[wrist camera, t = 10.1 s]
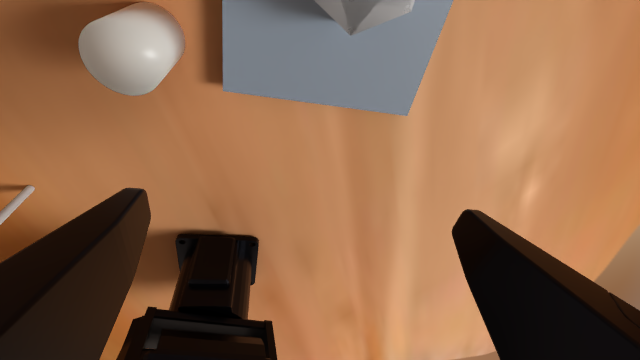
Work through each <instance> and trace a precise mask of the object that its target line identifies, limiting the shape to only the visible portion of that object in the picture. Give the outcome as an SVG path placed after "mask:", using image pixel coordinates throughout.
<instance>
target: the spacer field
mask: <svg viewBox="0 0 640 360" xmlns="http://www.w3.org/2000/svg"><path fill="white" fill-rule="evenodd" d="M78 45H79V52H80V56H81V59H82V61H83V63H84V65H85V66H86V68H87V69H88V71H89V72H90V73H91V74H92V76H93V77H94V78H95V79H97V80H98V81H99V82H100V83H101V84H103V85H104V86H106V87H107V88H109V89H111V90H113V91H115V92H118V93H121V94H125V95H132V96H137V95H144V94H147V93H149V92H151V91H152V90H154V89H155V88H156V87H157V86H158V84H159V83H160V82H161V81H162V80H163V78H164V77H165V76H166V75H167V74H168V73H169V71H170V70H171V69H172V68H173V67H174V65H175V64H176V63H177V62H178V61H179V59H180V58H181V57H182V55H183V53H184V50H185V36H184V33H183V30H182V28H181V26H180V24H179V23H178V21H177V20H176V19H175V17H174V16H173V15H172V14H171V13H169V12H168V11H167V10H166V9H164V8H162V7H160V6H159V5H156V4H153V3H149V2H139V3H135V4H132V5H130V6H127V7H125V8H123V9H120V10H118V11H116V12H113V13H111V14H109V15H106V16H104V17H102V18H99V19H97V20H95V21H92V22H91V23H89V24H88V25H86V26H85V27H84V29H83V30H82V32H81V34H80V37H79V43H78Z"/></svg>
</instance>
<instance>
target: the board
mask: <svg viewBox="0 0 640 360" xmlns="http://www.w3.org/2000/svg"><path fill="white" fill-rule="evenodd" d="M452 2H453V0H415V2H414V5H413V8H412V11H411V12H409V13H407V14H404V15H402V16H399V17H397V18H394V19H392V20H389V21H387V22H384V23H382V24H379V25H377V26H374V27H372V28H369V29H367V30H364V31H362V32H359V33H357V34H354V35H352V36H350V35H349V34H348V33H347V32H346V31H345V30H344V29H343V28H342V27H341V26H340V25H339V24H338V23H337V22H336V21H335V20H334V19H333V18H332V17H331V16H330V15H329V14H328V13H327V12H326V11H325V10H324V9H323V8H321V7H320V6H319V5H318V4H317V3H316V2H315V1H314V0H222V20H223V91H227V92H234V93H242V94H249V95H257V96H264V97H271V98H279V99H286V100H293V101H301V102H308V103H316V104H323V105H330V106H338V107H345V108H353V109H360V110H367V111H375V112H382V113H390V114H397V115H404V116H407V115H408V113H409V110H410V108H411V105H412V103H413V100H414V98H415V95H416V93H417V90H418V88H419V85H420V82H421V80H422V77H423V75H424V72H425V70H426V67H427V65H428V62H429V60H430V57H431V55H432V52H433V50H434V47H435V45H436V42H437V40H438V37H439V35H440V32H441V30H442V27H443V25H444V22H445V20H446V17H447V15H448V12H449V10H450V7H451V5H452Z"/></svg>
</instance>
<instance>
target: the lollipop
mask: <svg viewBox="0 0 640 360" xmlns="http://www.w3.org/2000/svg"><path fill="white" fill-rule="evenodd" d="M34 190H35V188H34V187H33V186H30V185H28V186H26V187H25V188H24V189H23V190H22V191H21V192H20V193H19V194H18V195H17V196H16V197H15V198H14V199H13V200H12V201H11V202H10V203H9V204H8V205H7V206H6V207H5V208H4V209H3V210H2V211H1V212H0V225H1V224H2V223H3V222H4V221H5V219H6V218H7V217H8V216H9V215H10V214H11V213H12V212H13V211H14V210H15V209H16V208H17V207H18V206H19V205H20V204H21V203H22V202H23V201H24V200H25V199H26V198H27V197H28V196H29V195H30V194H31V193H32V192H33V191H34Z"/></svg>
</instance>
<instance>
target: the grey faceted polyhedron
mask: <svg viewBox="0 0 640 360" xmlns="http://www.w3.org/2000/svg"><path fill="white" fill-rule="evenodd" d="M314 1H315V2H316V3H317V4H318V5H319V6H320V7H321V8H323V9H324V10H325V11H326V12H327V13H328V14H329V15H330V16H331V17H332V18H333V19H334V20H335V21H336V22H337V23H338V24H339V25H340V26H341V27H342V28H343V29H344V30H345V31H346V32H347V33H348V34H349V35H350V36H352V35H354V34H357V33H359V32H362V31H364V30H367V29H369V28H372V27H374V26H377V25H379V24H382V23H384V22H387V21H389V20H392V19H394V18H397V17H399V16H402V15H404V14H407V13H409V12H411V11H412V8H413V5H414V2H415V0H314Z"/></svg>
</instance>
